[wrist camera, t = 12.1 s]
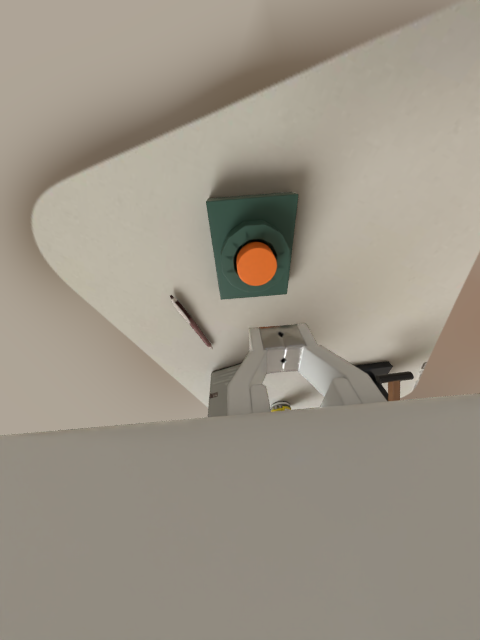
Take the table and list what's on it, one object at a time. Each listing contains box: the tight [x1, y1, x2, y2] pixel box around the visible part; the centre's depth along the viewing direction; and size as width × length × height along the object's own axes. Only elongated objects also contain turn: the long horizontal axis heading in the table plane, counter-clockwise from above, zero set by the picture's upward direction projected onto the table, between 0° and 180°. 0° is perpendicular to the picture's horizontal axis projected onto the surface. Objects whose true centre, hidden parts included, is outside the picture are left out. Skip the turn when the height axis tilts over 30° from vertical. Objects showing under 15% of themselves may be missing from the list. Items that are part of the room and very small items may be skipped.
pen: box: [170, 295, 212, 349], centre depth 26 cm, size 11×1×1 cm, turn 22°
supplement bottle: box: [271, 402, 291, 412], centre depth 41 cm, size 5×5×8 cm
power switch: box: [375, 372, 414, 401], centre depth 30 cm, size 13×5×2 cm, turn 8°
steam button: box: [236, 242, 277, 286], centre depth 17 cm, size 4×4×2 cm
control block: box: [206, 192, 298, 299], centre depth 19 cm, size 10×8×4 cm
